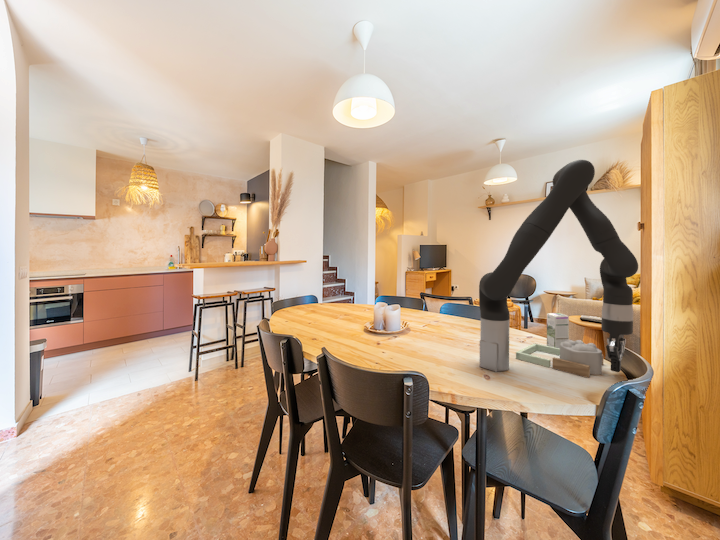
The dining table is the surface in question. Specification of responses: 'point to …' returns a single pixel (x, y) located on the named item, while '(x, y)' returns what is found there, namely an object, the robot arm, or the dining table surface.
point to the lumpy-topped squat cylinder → (582, 354)
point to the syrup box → (557, 329)
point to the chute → (572, 367)
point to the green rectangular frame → (532, 348)
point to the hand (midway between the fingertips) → (615, 370)
